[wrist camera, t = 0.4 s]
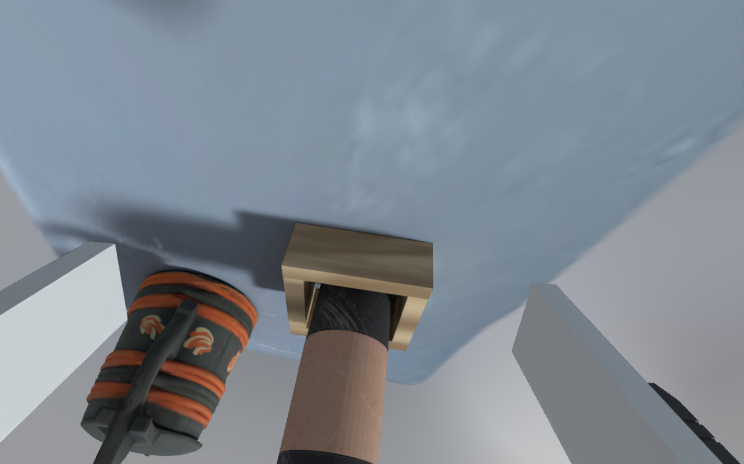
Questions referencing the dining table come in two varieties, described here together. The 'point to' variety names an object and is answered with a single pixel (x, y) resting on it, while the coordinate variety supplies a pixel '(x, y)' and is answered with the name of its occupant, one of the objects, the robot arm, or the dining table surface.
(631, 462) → the robot arm
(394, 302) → the frame
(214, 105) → the dining table surface
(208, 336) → the beer stein
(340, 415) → the travel mug
